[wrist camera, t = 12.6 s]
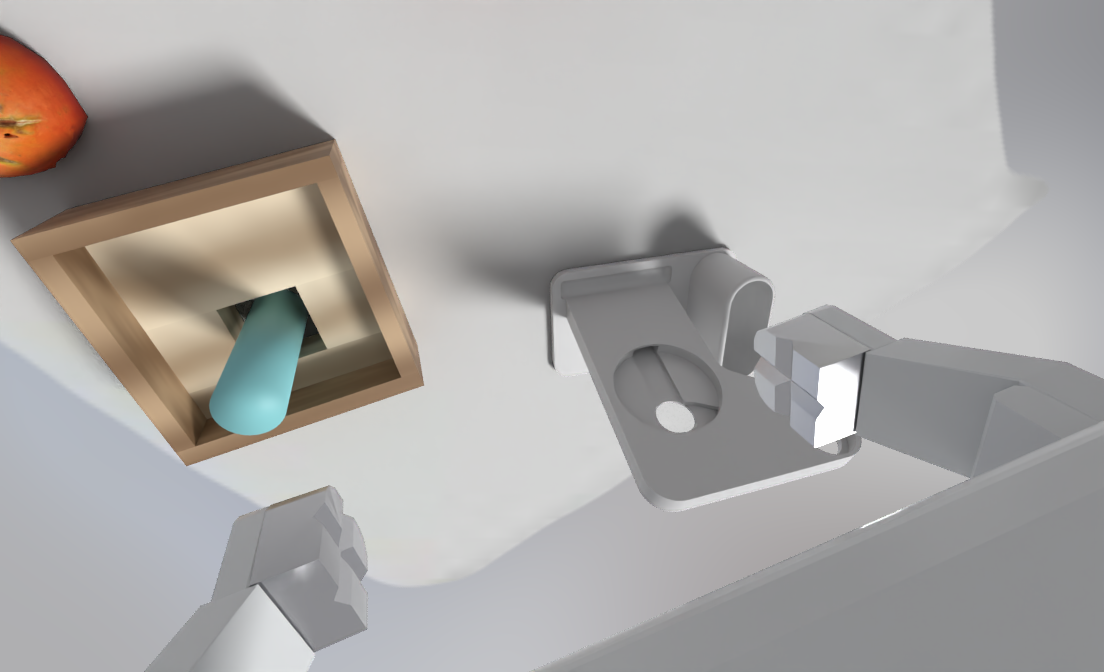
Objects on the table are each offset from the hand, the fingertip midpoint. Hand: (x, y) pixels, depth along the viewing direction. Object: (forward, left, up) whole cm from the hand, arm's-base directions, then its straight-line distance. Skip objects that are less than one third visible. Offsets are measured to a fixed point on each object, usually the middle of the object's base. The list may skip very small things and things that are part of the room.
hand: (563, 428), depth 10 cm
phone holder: (+18, +14, -31) cm, 39 cm away
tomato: (-8, -21, -32) cm, 39 cm away
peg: (+8, -13, -31) cm, 35 cm away
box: (+6, -13, -31) cm, 34 cm away
